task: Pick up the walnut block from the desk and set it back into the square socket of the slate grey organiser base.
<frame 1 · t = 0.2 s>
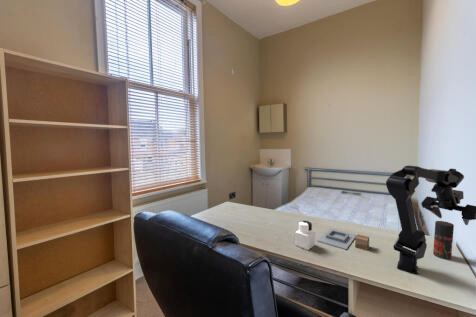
hand: (453, 221, 99), 15 cm above the table, tool tilted 30°, fingers open, 9 cm apart
walnut block: (362, 247, 107), on the table
deodorant: (442, 256, 98), on the table
organiser base: (337, 238, 116), on the table
medicine bottle: (305, 245, 109), on the table
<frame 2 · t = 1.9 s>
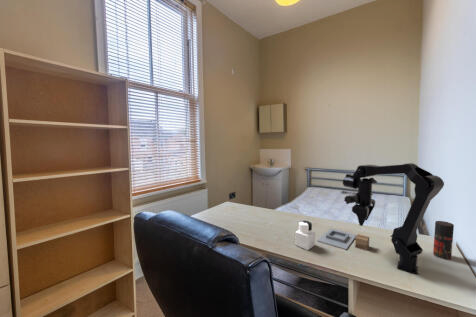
hand: (363, 222, 106), 12 cm above the table, tool pointing down, fingers open, 9 cm apart
nothing on the table moved.
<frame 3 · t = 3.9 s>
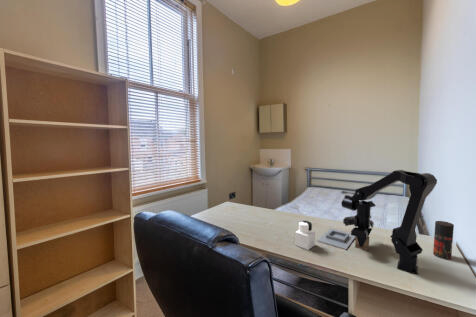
hand: (362, 244, 107), 1 cm above the table, tool pointing down, fingers closed on walnut block, 5 cm apart
walnut block: (362, 246, 107), on the table, touching gripper
everything else where it was.
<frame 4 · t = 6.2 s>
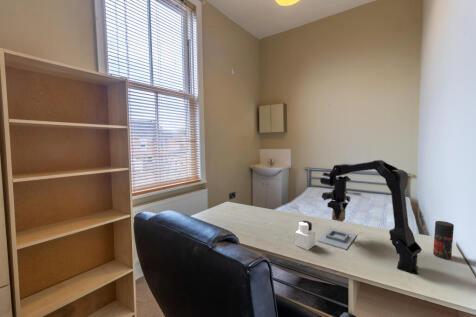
hand: (338, 217, 115), 11 cm above the table, tool pointing down, fingers closed on walnut block, 5 cm apart
walnut block: (338, 219, 115), point 10 cm above the table, touching gripper
everything else where it was.
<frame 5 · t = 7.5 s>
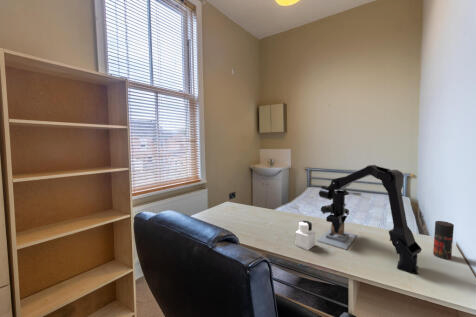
hand: (337, 230, 116), 4 cm above the table, tool pointing down, fingers closed on walnut block, 5 cm apart
walnut block: (337, 232, 116), point 3 cm above the table, touching gripper
everything else where it was.
when the fingers open (3 cm above the table, at t = 8.4 s): walnut block drops 2 cm, resting on organiser base.
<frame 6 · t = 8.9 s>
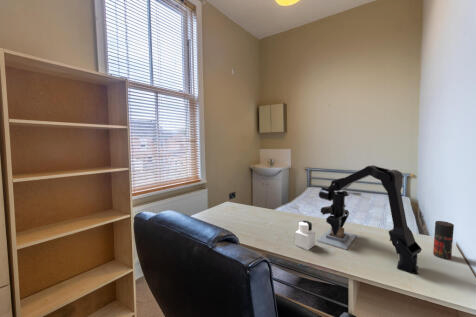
hand: (337, 231, 116), 3 cm above the table, tool pointing down, fingers open, 9 cm apart
walnut block: (337, 237, 116), resting on organiser base
everything else where it was.
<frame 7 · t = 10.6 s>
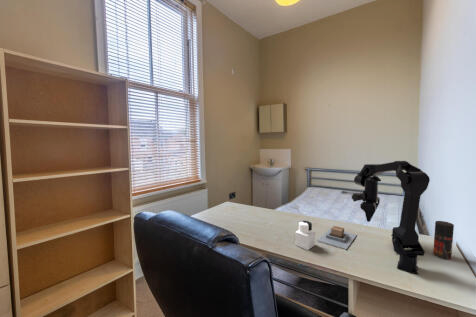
hand: (369, 219, 112), 12 cm above the table, tool pointing down, fingers open, 9 cm apart
nothing on the table moved.
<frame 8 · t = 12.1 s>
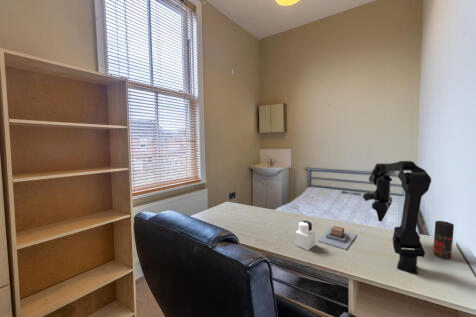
hand: (381, 218, 111), 12 cm above the table, tool pointing down, fingers open, 9 cm apart
nothing on the table moved.
at the end: walnut block 0.0 cm off-centre on the organiser base, point 0.5 cm above the organiser base's base; walnut block tilted 0°; the gripper is holding nothing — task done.
